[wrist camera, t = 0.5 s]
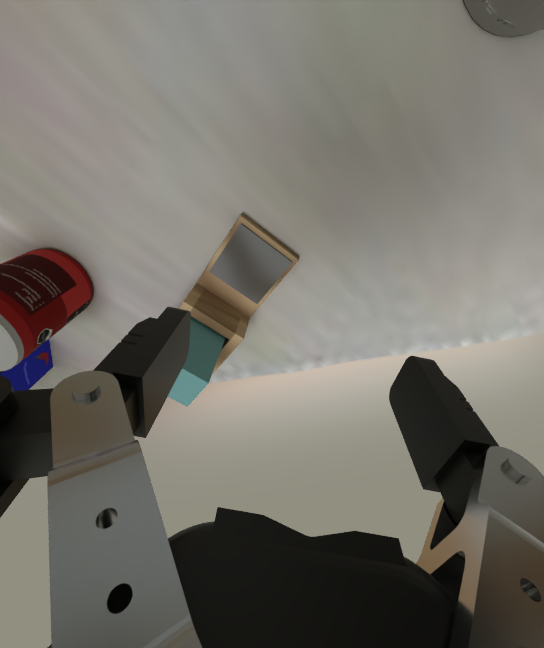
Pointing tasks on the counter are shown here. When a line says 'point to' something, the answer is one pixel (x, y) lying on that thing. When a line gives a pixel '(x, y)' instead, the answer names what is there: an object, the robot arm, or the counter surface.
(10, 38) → the counter surface
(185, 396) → the teal block
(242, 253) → the holder
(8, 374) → the cereal box
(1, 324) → the canned food
